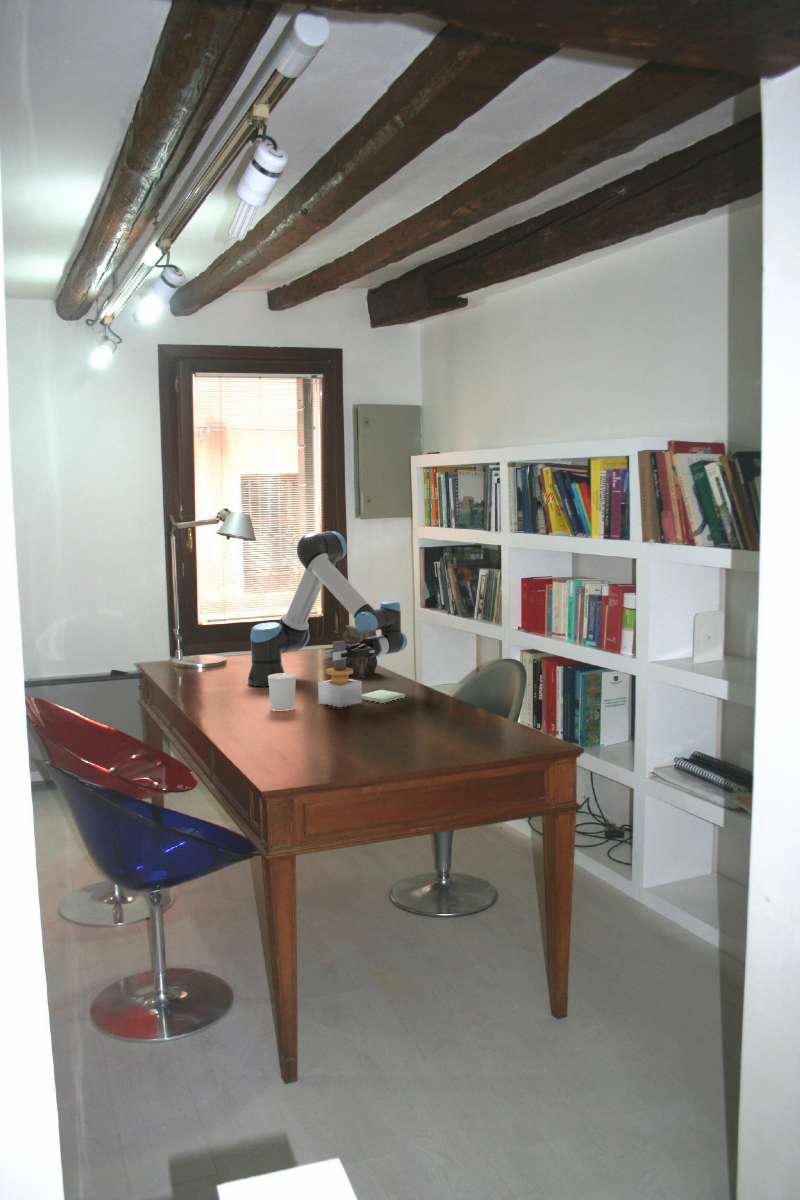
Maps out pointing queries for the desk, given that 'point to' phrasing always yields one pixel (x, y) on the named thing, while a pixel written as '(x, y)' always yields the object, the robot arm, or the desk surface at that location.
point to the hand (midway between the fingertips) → (328, 655)
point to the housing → (340, 693)
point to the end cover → (339, 666)
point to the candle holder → (282, 690)
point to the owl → (360, 664)
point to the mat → (382, 696)
